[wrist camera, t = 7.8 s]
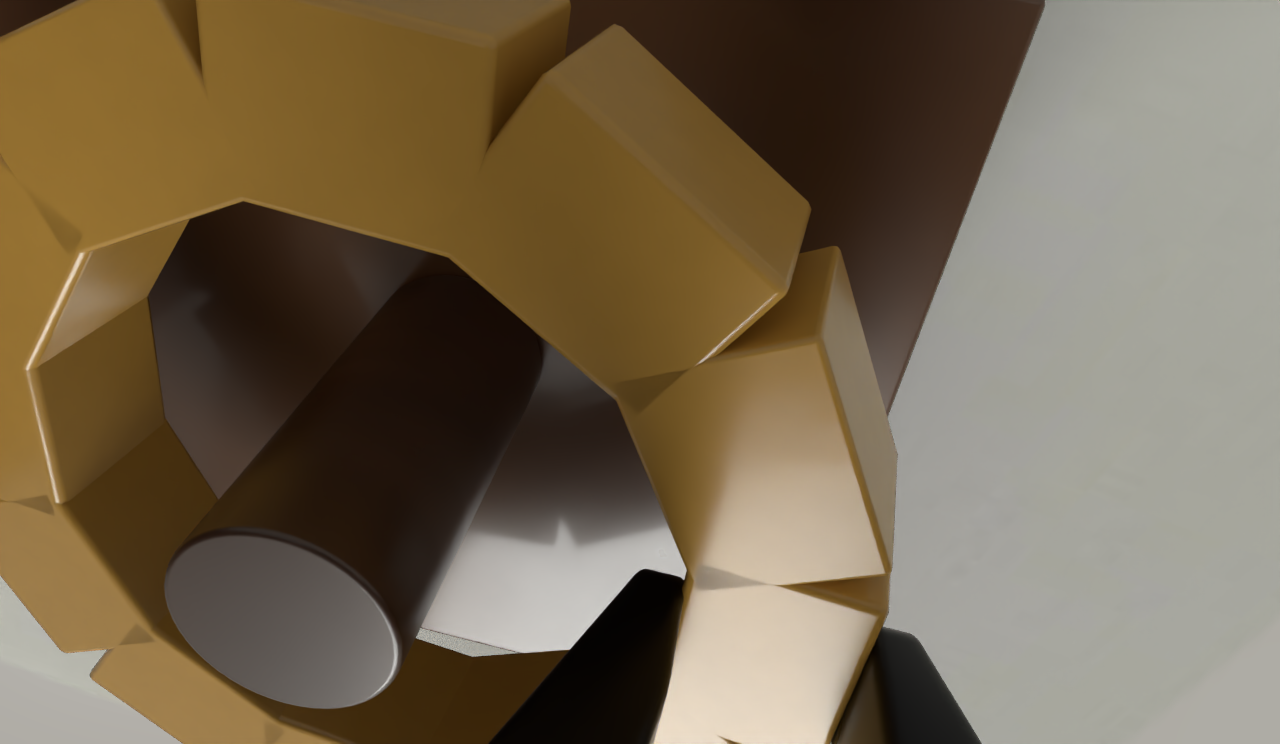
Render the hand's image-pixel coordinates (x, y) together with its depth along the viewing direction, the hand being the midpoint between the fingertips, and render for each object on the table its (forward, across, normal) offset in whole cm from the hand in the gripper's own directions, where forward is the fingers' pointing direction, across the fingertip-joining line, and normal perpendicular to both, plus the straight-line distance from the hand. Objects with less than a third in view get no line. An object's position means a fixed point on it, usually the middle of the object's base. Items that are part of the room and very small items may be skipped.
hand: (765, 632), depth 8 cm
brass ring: (+2, +4, 0) cm, 4 cm away
